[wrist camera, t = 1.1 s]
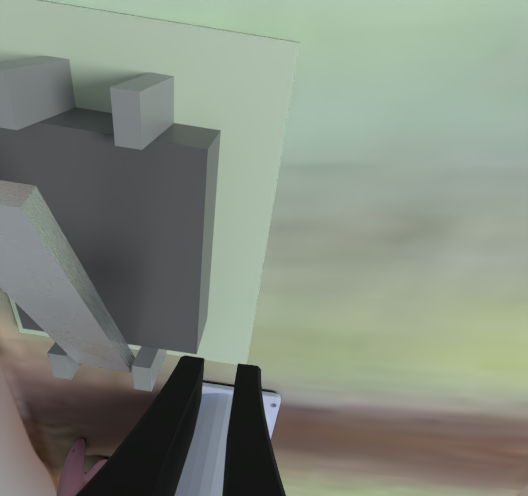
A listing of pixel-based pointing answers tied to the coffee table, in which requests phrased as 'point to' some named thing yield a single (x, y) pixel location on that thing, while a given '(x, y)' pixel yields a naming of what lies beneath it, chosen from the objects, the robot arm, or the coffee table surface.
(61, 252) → the block
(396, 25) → the coffee table surface
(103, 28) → the board
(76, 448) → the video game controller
